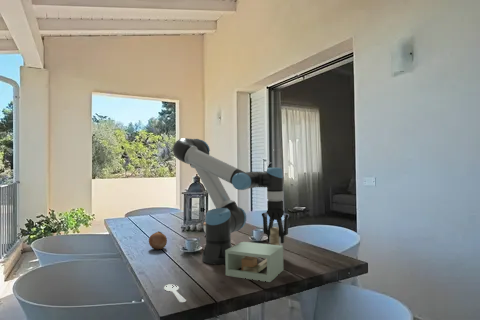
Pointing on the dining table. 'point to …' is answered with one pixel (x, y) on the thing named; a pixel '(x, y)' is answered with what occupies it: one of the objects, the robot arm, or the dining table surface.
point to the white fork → (174, 290)
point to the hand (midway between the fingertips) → (275, 249)
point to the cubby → (255, 250)
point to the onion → (157, 240)
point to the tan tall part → (274, 241)
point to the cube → (249, 261)
